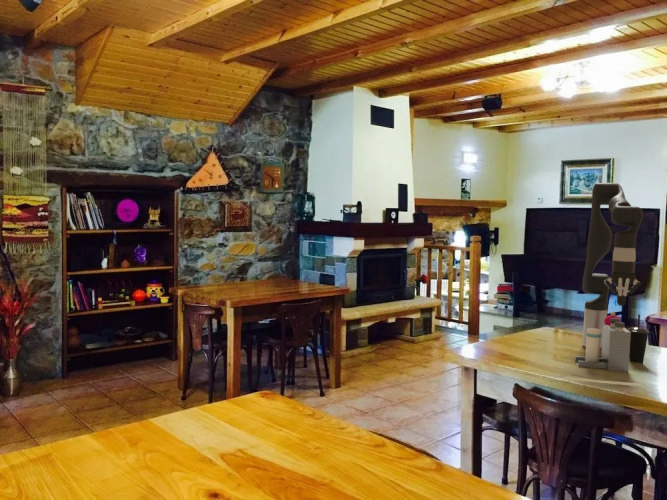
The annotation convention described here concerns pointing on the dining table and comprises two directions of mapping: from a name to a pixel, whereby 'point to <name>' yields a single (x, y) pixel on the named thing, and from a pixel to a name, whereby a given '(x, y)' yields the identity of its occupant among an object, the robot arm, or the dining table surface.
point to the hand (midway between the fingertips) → (620, 305)
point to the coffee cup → (593, 345)
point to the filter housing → (611, 351)
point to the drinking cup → (638, 343)
